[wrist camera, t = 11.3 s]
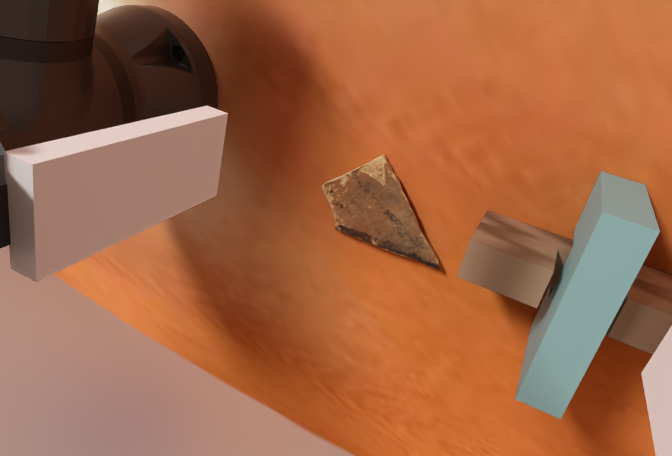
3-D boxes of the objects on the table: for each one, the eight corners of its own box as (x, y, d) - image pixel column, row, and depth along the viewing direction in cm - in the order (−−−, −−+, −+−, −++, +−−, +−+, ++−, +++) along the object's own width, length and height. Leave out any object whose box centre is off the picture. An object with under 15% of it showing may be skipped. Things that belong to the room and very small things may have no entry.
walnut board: (475, 242, 44) (456, 276, 38) (487, 210, 42) (469, 240, 36) (686, 321, 39) (703, 374, 33) (707, 287, 37) (728, 336, 31)
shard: (444, 263, 46) (439, 271, 44) (372, 287, 50) (364, 295, 48) (390, 150, 45) (383, 154, 43) (320, 184, 49) (311, 189, 47)
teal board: (567, 342, 43) (560, 419, 35) (530, 327, 44) (515, 398, 35) (645, 184, 37) (660, 231, 28) (600, 171, 38) (602, 212, 29)
